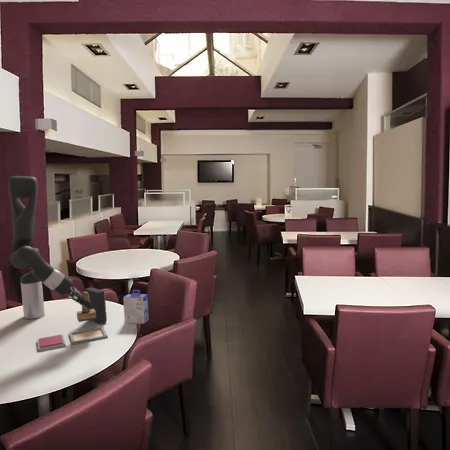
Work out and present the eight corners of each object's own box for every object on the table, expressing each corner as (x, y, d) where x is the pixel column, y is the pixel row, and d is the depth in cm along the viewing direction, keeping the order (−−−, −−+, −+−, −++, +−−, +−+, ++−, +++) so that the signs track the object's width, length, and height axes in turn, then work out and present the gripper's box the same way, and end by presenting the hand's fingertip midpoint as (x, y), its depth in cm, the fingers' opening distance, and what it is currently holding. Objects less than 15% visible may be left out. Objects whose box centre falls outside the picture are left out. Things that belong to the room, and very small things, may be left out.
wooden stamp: (77, 318, 181) (75, 291, 180) (94, 315, 184) (92, 289, 183) (78, 322, 177) (76, 294, 175) (96, 319, 180) (94, 291, 178)
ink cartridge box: (149, 319, 199) (147, 289, 197) (144, 324, 194) (143, 292, 192) (129, 319, 201) (127, 288, 199) (124, 323, 196) (122, 292, 194)
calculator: (108, 322, 197) (105, 290, 195) (99, 325, 194) (97, 292, 192) (95, 317, 205) (93, 286, 203) (87, 320, 202) (84, 288, 200)
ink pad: (37, 341, 177) (37, 338, 177) (63, 337, 182) (62, 333, 181) (38, 351, 167) (38, 347, 167) (65, 346, 172) (65, 342, 171)
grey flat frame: (69, 334, 184) (68, 332, 184) (102, 328, 190) (102, 326, 190) (72, 344, 173) (72, 342, 173) (107, 337, 179) (107, 335, 179)
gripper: (65, 278, 169) (100, 303, 175) (62, 271, 181) (94, 295, 188) (52, 293, 167) (87, 318, 174) (49, 285, 180) (82, 309, 186)
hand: (90, 306), depth 181 cm, fingers closed on wooden stamp, 3 cm apart
